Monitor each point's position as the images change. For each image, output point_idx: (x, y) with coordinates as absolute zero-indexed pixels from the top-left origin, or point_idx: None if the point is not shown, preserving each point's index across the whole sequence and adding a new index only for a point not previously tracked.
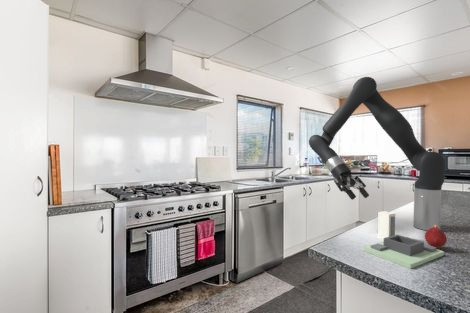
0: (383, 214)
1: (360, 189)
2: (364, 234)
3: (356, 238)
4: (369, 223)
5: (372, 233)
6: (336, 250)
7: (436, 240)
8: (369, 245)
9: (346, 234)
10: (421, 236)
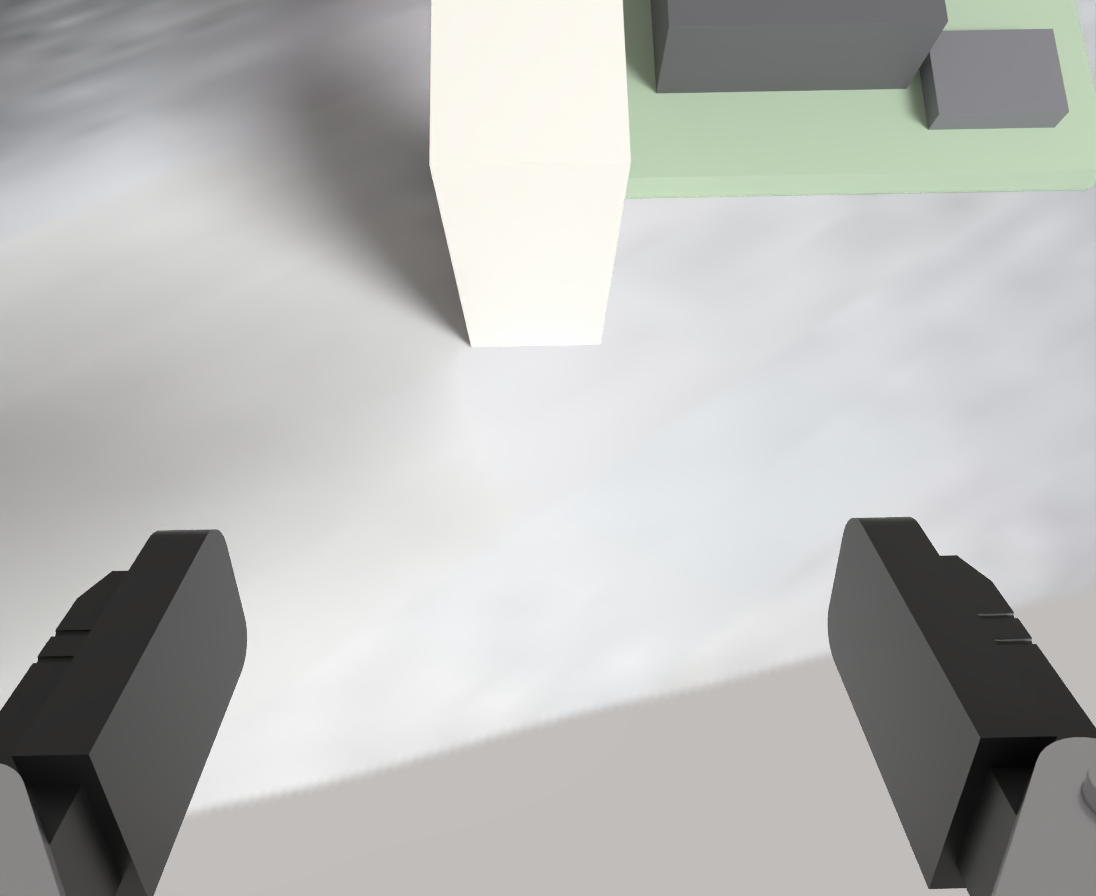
0: (624, 89)
1: (93, 886)
2: (617, 506)
3: (851, 452)
4: None
5: (479, 486)
6: None
7: None
8: (1008, 171)
9: None
10: (46, 169)
